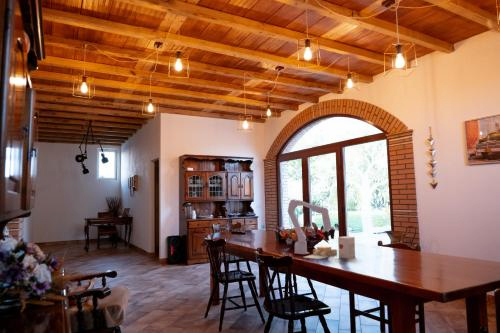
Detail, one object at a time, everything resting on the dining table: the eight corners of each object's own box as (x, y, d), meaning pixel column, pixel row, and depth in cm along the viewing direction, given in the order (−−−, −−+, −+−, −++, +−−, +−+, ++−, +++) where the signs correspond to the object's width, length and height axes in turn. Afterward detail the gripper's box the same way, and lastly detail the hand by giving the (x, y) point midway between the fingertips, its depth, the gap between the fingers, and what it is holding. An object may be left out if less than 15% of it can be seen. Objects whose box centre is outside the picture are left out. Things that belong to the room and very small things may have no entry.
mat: (303, 257, 269) (302, 257, 269) (312, 255, 278) (312, 254, 278) (318, 259, 259) (318, 258, 259) (328, 256, 268) (328, 256, 268)
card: (317, 249, 278) (317, 247, 279) (321, 248, 283) (321, 246, 283) (327, 250, 272) (326, 248, 272) (331, 249, 276) (331, 247, 277)
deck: (313, 255, 278) (313, 249, 279) (321, 253, 287) (321, 248, 287) (328, 256, 269) (328, 251, 269) (337, 254, 277) (336, 249, 277)
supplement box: (338, 257, 265) (337, 237, 266) (345, 256, 271) (344, 236, 272) (349, 258, 258) (348, 238, 259) (355, 257, 264) (354, 236, 265)
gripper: (326, 223, 277) (329, 241, 275) (335, 220, 287) (339, 237, 285) (318, 224, 281) (322, 241, 280) (328, 221, 292) (331, 238, 290)
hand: (330, 239), depth 283 cm, fingers open, 7 cm apart
